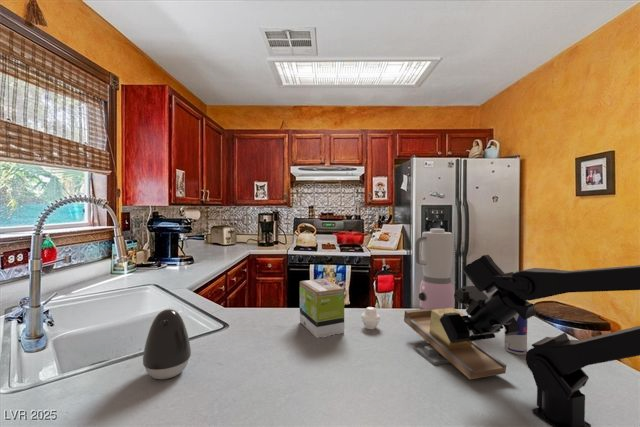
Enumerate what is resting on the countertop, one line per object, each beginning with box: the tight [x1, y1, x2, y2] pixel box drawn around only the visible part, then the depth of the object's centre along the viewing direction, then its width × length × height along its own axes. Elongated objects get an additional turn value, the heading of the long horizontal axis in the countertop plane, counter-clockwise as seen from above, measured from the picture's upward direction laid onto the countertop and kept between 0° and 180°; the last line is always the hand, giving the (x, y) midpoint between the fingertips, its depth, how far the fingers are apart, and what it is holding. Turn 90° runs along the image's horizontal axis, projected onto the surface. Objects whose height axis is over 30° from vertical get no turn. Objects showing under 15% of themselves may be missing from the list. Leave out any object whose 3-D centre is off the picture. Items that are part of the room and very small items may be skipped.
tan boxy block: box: [429, 308, 472, 350], centre depth 83 cm, size 8×7×7 cm
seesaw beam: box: [403, 308, 507, 380], centre depth 84 cm, size 28×10×4 cm, turn 16°
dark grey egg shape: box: [142, 308, 192, 380], centre depth 74 cm, size 10×10×15 cm
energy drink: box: [503, 314, 528, 356], centre depth 87 cm, size 5×5×12 cm
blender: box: [414, 228, 455, 309], centre depth 118 cm, size 16×12×32 cm
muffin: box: [360, 306, 381, 330], centre depth 103 cm, size 6×6×7 cm
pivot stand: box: [415, 345, 452, 366], centre depth 84 cm, size 8×14×2 cm, turn 106°
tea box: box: [299, 278, 345, 339], centre depth 103 cm, size 15×10×15 cm, turn 25°
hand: (461, 339), depth 79 cm, fingers closed
